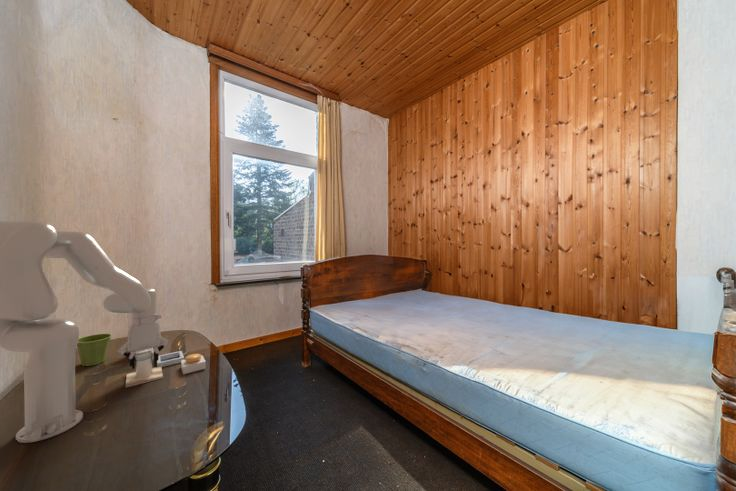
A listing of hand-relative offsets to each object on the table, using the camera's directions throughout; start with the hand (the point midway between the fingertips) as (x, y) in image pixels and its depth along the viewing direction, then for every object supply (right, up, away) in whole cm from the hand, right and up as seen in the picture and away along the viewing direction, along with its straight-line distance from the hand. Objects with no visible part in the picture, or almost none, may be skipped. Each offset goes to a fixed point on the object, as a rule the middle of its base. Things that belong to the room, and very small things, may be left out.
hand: (144, 364), depth 107 cm
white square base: (+14, -5, +8) cm, 17 cm away
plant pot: (-32, -5, +12) cm, 35 cm away
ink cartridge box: (-19, -5, +21) cm, 29 cm away
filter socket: (0, -5, +14) cm, 15 cm away
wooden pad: (0, -5, 0) cm, 5 cm away
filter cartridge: (0, -4, 0) cm, 4 cm away
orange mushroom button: (+14, -4, +8) cm, 17 cm away
